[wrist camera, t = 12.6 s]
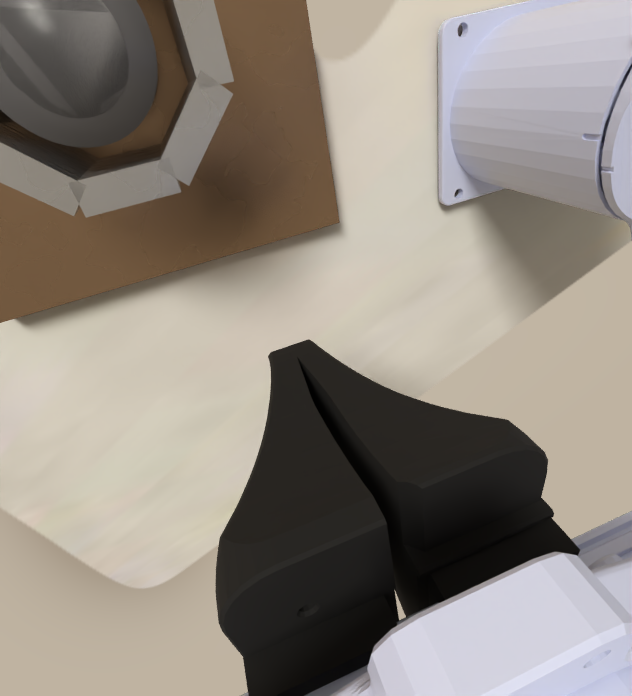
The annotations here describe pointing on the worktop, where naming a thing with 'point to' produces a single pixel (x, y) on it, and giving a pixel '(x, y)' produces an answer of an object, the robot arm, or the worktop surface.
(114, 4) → the grey short cylinder
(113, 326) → the worktop surface
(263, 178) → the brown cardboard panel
